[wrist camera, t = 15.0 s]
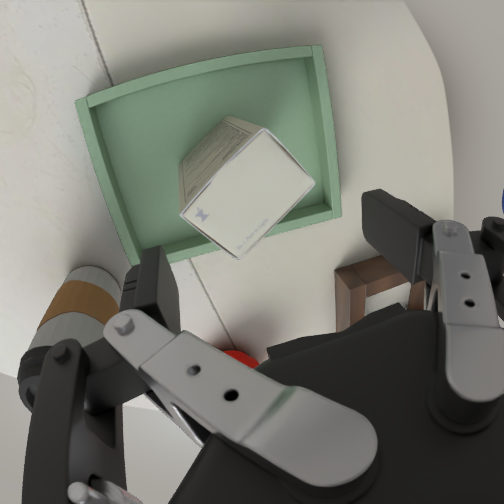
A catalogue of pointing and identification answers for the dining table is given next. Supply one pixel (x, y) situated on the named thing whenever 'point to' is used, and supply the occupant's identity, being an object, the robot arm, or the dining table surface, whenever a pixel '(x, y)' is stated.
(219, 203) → the cosmetic box
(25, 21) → the dining table surface
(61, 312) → the coffee cup
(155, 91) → the tray
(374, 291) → the wooden square frame
